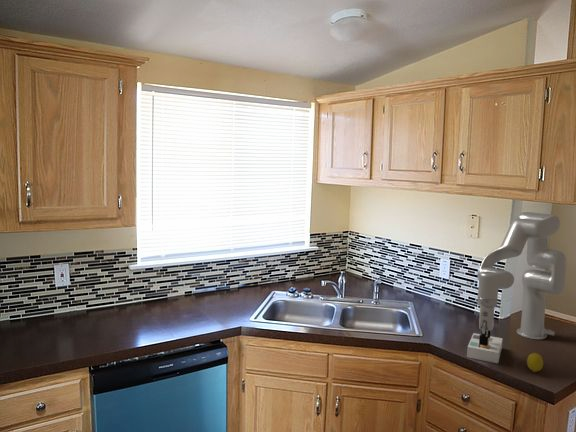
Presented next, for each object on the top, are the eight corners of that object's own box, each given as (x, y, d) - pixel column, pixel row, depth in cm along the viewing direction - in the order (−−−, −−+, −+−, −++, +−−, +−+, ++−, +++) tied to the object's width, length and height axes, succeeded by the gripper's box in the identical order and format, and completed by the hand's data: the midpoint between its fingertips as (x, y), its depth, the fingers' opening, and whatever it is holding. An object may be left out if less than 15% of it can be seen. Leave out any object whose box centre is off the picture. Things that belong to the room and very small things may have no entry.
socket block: (501, 348, 201) (502, 338, 200) (498, 363, 185) (498, 352, 185) (472, 342, 207) (473, 332, 206) (466, 357, 191) (467, 346, 191)
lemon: (523, 368, 181) (525, 349, 180) (538, 369, 181) (540, 350, 180) (529, 375, 176) (531, 355, 175) (544, 375, 175) (546, 356, 174)
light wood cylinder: (488, 355, 193) (489, 335, 192) (487, 358, 190) (488, 337, 189) (480, 354, 194) (481, 333, 193) (479, 356, 192) (480, 336, 191)
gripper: (495, 308, 180) (492, 350, 182) (499, 297, 195) (496, 336, 197) (474, 305, 184) (472, 346, 186) (480, 295, 199) (477, 332, 201)
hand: (484, 340), depth 191 cm, fingers open, 9 cm apart
